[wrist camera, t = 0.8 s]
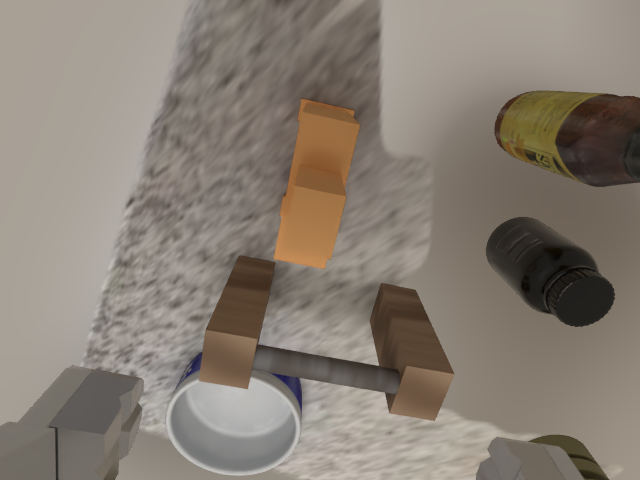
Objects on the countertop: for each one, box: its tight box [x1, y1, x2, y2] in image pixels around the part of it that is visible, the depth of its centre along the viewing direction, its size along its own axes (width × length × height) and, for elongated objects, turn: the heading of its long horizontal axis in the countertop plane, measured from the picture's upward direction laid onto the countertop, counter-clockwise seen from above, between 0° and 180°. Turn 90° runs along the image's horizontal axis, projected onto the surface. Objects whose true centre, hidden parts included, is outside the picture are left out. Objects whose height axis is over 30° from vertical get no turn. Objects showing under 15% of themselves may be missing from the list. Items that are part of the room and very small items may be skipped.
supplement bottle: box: [486, 217, 615, 327], centre depth 38 cm, size 7×7×12 cm
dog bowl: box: [165, 352, 302, 476], centre depth 48 cm, size 15×15×6 cm
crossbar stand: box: [199, 256, 454, 421], centre depth 39 cm, size 5×20×14 cm, turn 78°
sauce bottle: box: [495, 91, 640, 187], centre depth 30 cm, size 6×6×20 cm
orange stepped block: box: [274, 98, 360, 269], centre depth 32 cm, size 12×5×18 cm, turn 168°
